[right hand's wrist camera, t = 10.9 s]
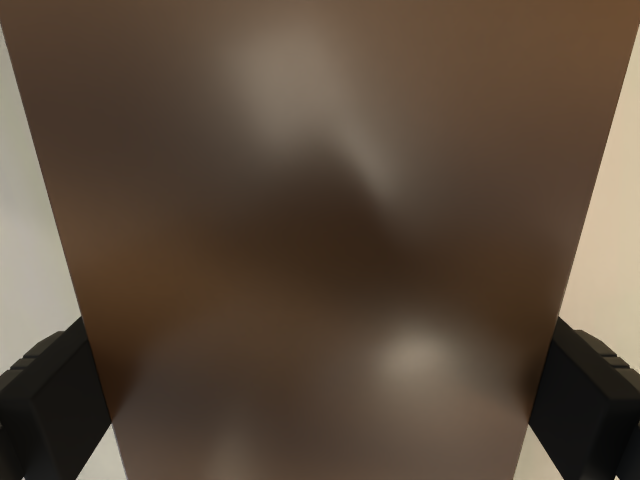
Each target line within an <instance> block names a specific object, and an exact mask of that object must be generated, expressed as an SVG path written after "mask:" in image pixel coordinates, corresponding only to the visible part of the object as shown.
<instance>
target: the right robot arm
mask: <svg viewBox="0 0 640 480" xmlns="http://www.w3.org/2000/svg"><path fill="white" fill-rule="evenodd" d="M528 424H529V425H530V427H531V428H532V430H533V431H534V433H535V435H536V436H537V438H538V439H539V441H540V443H541V444H542V446H543V447H544V449H545V450H546V452H547V454H548V455H549V457H550V458H551V460H552V461H553V463H554V465H555V466H556V468H557V469H558V471H559V473H560V474H561V476H562V477H563V479H564V480H614V479H615V476H616V475H617V477H618V478H619V479H620V480H640V374H638V373H637V372H636V371H635V370H634V369H630V367H629V365H628V364H627V363H626V362H625V361H624V360H623V359H621V358H620V357H617V354H616V353H615V352H613V351H612V350H611V349H610V348H609V347H608V346H607V345H605V344H604V343H603V342H602V341H600V340H599V339H597V338H595V337H593V336H591V335H590V334H588V333H586V332H584V331H583V330H573V329H572V328H571V327H570V326H569V325H568V324H566V323H565V322H564V321H563V320H562V319H561V318H560V317H559V316H558V319H557V322H556V326H555V330H554V333H553V337H552V340H551V344H550V348H549V351H548V355H547V358H546V362H545V366H544V369H543V373H542V376H541V380H540V384H539V387H538V391H537V394H536V398H535V402H534V405H533V409H532V412H531V416H530V420H529V423H528ZM110 425H111V420H110V417H109V413H108V409H107V406H106V402H105V399H104V395H103V391H102V388H101V384H100V381H99V377H98V373H97V370H96V366H95V363H94V359H93V355H92V352H91V348H90V345H89V341H88V337H87V334H86V330H85V327H84V323H83V319H82V316H81V317H80V318H79V319H77V320H76V321H75V322H74V323H73V324H72V325H71V326H70V327H69V328H68V329H67V330H66V331H58V332H56V333H54V334H53V335H51V336H49V337H47V338H45V339H44V340H42V341H40V342H38V343H37V344H36V345H35V346H34V347H33V348H32V349H30V350H29V351H28V352H27V353H26V354H25V355H24V356H23V358H22V359H19V360H18V361H17V362H16V363H15V364H13V365H12V366H11V367H10V370H7V371H5V372H4V373H3V374H2V375H1V376H0V480H22V478H23V477H24V478H25V480H76V478H77V477H78V475H79V473H80V472H81V470H82V469H83V467H84V466H85V464H86V462H87V461H88V459H89V458H90V456H91V455H92V453H93V451H94V450H95V448H96V447H97V445H98V443H99V442H100V440H101V439H102V437H103V436H104V434H105V432H106V431H107V429H108V428H109V426H110Z"/></svg>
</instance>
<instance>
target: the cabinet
mask: <svg viewBox="0 0 640 480" xmlns="http://www.w3.org/2000/svg"><path fill="white" fill-rule="evenodd" d="M0 24H1V27H2V31H3V34H4V38H5V42H6V45H7V49H8V53H9V56H10V60H11V63H12V67H13V71H14V74H15V78H16V81H17V85H18V89H19V92H20V96H21V99H22V103H23V107H24V110H25V114H26V117H27V121H28V125H29V128H30V132H31V135H32V139H33V143H34V146H35V150H36V153H37V157H38V161H39V164H40V168H41V172H42V175H43V179H44V182H45V186H46V190H47V193H48V197H49V200H50V204H51V208H52V211H53V215H54V218H55V222H56V226H57V229H58V233H59V236H60V240H61V244H62V247H63V251H64V254H65V258H66V262H67V265H68V269H69V272H70V276H71V280H72V283H73V287H74V290H75V294H76V298H77V301H78V305H79V309H80V312H81V316H82V319H83V323H84V327H85V330H86V334H87V337H88V341H89V345H90V348H91V352H92V355H93V359H94V363H95V366H96V370H97V373H98V377H99V381H100V384H101V388H102V391H103V395H104V399H105V402H106V406H107V409H108V413H109V417H110V420H111V424H112V428H113V431H114V435H115V438H116V442H117V446H118V449H119V453H120V456H121V460H122V464H123V467H124V471H125V474H126V478H127V480H513V477H514V473H515V470H516V466H517V463H518V459H519V455H520V452H521V448H522V445H523V441H524V438H525V434H526V430H527V427H528V423H529V420H530V416H531V412H532V409H533V405H534V402H535V398H536V394H537V391H538V387H539V384H540V380H541V376H542V373H543V369H544V366H545V362H546V358H547V355H548V351H549V348H550V344H551V340H552V337H553V333H554V330H555V326H556V322H557V319H558V315H559V312H560V308H561V304H562V301H563V297H564V294H565V290H566V286H567V283H568V279H569V276H570V272H571V268H572V265H573V261H574V258H575V254H576V250H577V247H578V243H579V240H580V236H581V232H582V229H583V225H584V222H585V218H586V214H587V211H588V207H589V204H590V200H591V196H592V193H593V189H594V186H595V182H596V179H597V175H598V171H599V168H600V164H601V161H602V157H603V153H604V150H605V146H606V143H607V139H608V135H609V132H610V128H611V125H612V121H613V117H614V114H615V110H616V107H617V103H618V99H619V96H620V92H621V89H622V85H623V81H624V78H625V74H626V71H627V67H628V63H629V60H630V56H631V53H632V49H633V45H634V42H635V38H636V35H637V31H638V27H639V24H640V0H0Z"/></svg>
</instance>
